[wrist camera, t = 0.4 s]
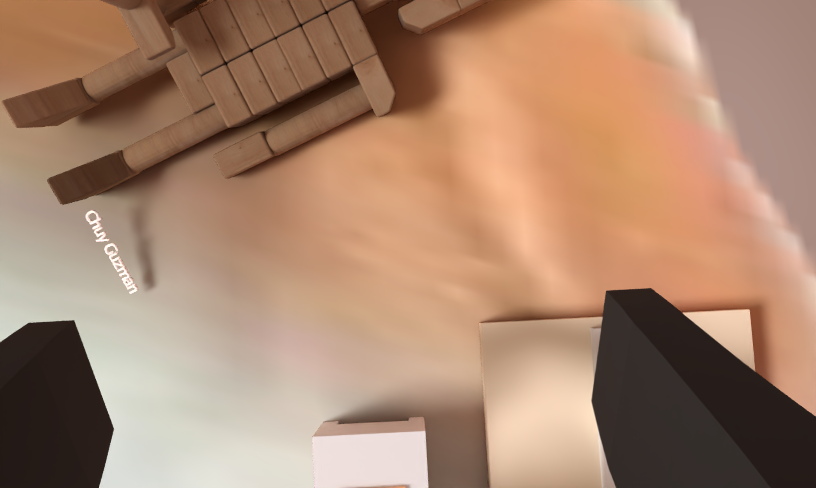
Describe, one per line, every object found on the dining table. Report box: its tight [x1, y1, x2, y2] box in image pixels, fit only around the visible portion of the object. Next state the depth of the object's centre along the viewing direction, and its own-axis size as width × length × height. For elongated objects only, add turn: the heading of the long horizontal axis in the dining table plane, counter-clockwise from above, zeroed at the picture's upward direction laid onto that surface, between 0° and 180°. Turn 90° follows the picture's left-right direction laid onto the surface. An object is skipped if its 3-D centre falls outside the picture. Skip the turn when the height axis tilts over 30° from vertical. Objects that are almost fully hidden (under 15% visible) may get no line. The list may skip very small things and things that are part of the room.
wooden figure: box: [2, 0, 490, 294], centre depth 29 cm, size 14×18×25 cm
